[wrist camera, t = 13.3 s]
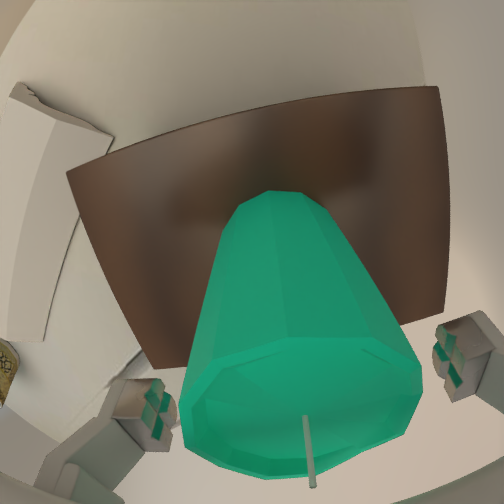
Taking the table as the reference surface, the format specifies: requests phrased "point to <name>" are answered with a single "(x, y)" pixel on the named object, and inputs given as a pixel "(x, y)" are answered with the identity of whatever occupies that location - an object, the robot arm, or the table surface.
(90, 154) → the molding piece
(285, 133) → the stand
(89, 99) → the table surface
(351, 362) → the candle
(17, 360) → the ceramic cup
